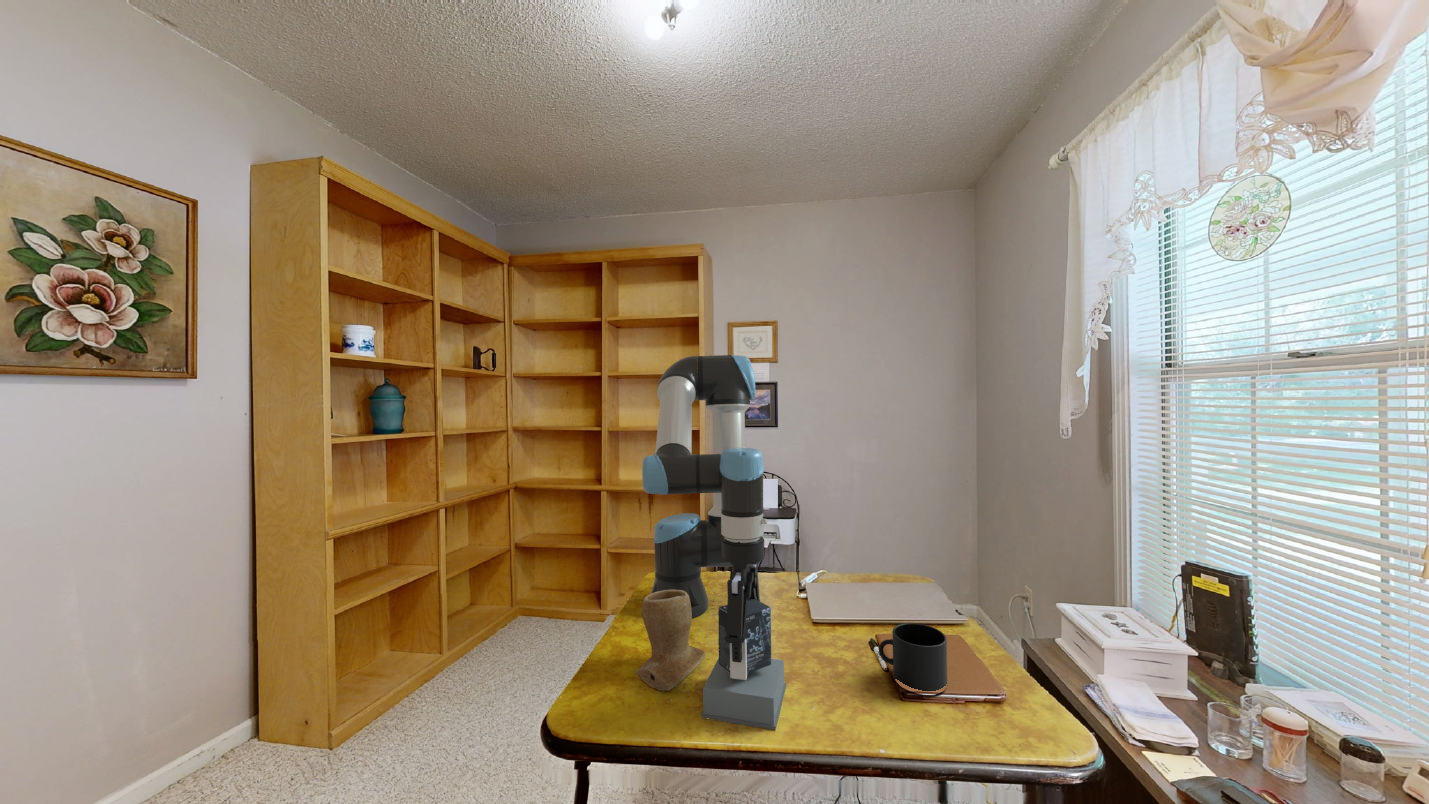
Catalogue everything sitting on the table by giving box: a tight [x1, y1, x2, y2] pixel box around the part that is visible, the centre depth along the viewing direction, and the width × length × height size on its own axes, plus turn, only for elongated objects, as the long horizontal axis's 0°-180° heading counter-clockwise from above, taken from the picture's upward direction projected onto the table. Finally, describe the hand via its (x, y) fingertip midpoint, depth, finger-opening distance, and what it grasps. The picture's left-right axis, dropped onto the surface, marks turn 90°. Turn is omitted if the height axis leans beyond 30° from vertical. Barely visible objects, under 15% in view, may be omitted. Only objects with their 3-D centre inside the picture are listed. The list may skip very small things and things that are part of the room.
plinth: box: [700, 657, 787, 731], centre depth 89 cm, size 13×13×5 cm
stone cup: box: [636, 590, 707, 692], centre depth 100 cm, size 15×12×15 cm
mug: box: [878, 622, 948, 691], centre depth 95 cm, size 9×12×9 cm
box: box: [717, 599, 772, 674], centre depth 89 cm, size 8×6×11 cm
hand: (745, 662), depth 89 cm, fingers closed on box, 9 cm apart
